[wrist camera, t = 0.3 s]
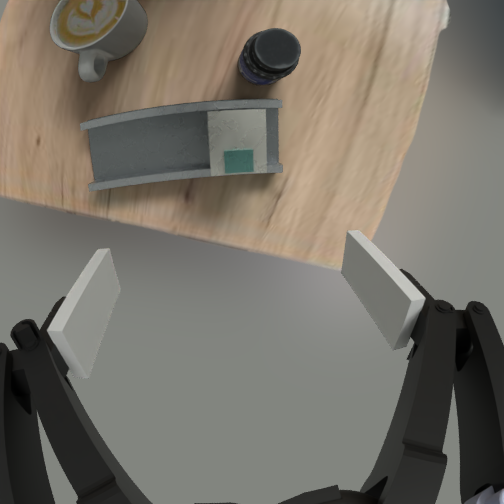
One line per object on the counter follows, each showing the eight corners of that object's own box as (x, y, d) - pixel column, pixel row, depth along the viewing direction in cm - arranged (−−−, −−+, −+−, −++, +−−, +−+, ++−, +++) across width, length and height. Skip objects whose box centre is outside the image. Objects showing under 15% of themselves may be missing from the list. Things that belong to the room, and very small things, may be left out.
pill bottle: (268, 93, 34) (289, 87, 25) (228, 72, 32) (234, 57, 23) (291, 59, 32) (318, 42, 22) (251, 37, 30) (265, 12, 20)
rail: (90, 120, 32) (57, 125, 24) (276, 99, 35) (295, 95, 26) (98, 186, 37) (70, 208, 28) (277, 169, 39) (294, 186, 31)
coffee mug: (96, 0, 23) (68, -22, 14) (158, 3, 26) (142, -25, 17) (67, 81, 29) (30, 78, 20) (126, 87, 31) (100, 82, 22)
